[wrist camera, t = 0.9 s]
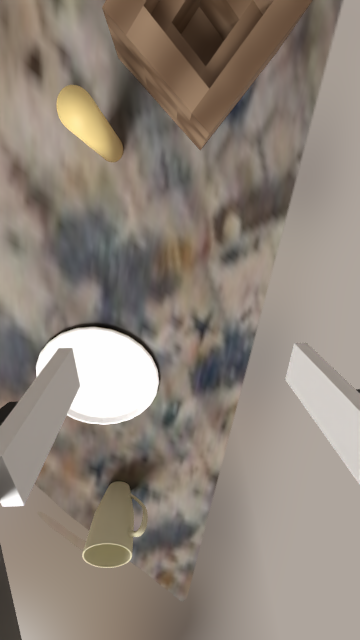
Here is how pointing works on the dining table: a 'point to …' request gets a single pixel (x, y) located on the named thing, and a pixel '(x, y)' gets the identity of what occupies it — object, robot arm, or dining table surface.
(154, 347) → the dining table surface
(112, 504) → the mug
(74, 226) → the dining table surface
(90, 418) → the plate
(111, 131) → the pin
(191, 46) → the bore block
